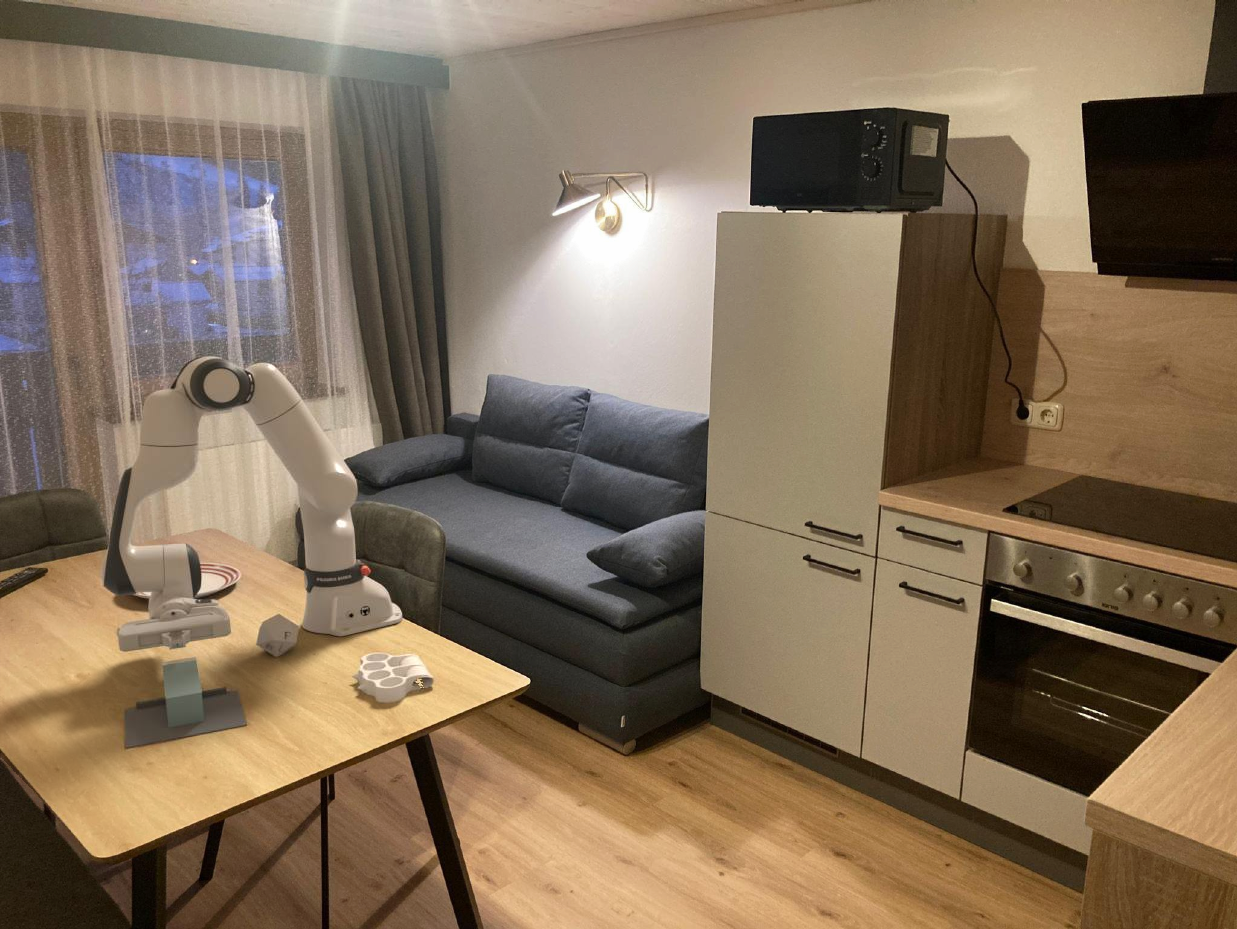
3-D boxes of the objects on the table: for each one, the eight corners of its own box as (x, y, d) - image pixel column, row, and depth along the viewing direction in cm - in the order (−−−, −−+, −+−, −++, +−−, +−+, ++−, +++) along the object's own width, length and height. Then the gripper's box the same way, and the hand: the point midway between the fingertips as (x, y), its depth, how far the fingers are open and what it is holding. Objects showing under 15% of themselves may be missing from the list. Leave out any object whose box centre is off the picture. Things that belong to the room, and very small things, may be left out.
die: (252, 663, 208) (273, 633, 205) (246, 632, 214) (266, 602, 210) (289, 667, 214) (309, 637, 210) (282, 636, 219) (301, 607, 216)
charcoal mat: (237, 690, 195) (237, 684, 194) (247, 725, 181) (246, 719, 180) (124, 710, 186) (123, 704, 186) (125, 748, 172) (124, 742, 172)
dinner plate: (202, 565, 269) (201, 553, 268) (263, 586, 254) (262, 574, 253) (102, 593, 247) (100, 580, 247) (162, 617, 232) (160, 604, 231)
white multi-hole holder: (438, 695, 194) (363, 709, 188) (415, 660, 210) (345, 672, 204) (438, 679, 194) (362, 693, 187) (415, 645, 209) (344, 657, 203)
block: (195, 656, 192) (201, 692, 180) (198, 684, 194) (204, 721, 182) (161, 662, 189) (165, 698, 177) (164, 690, 191) (168, 727, 179)
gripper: (114, 613, 196) (115, 638, 184) (225, 598, 205) (232, 620, 192) (118, 643, 197) (118, 669, 185) (227, 626, 206) (234, 650, 194)
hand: (177, 644), depth 189 cm, fingers closed
